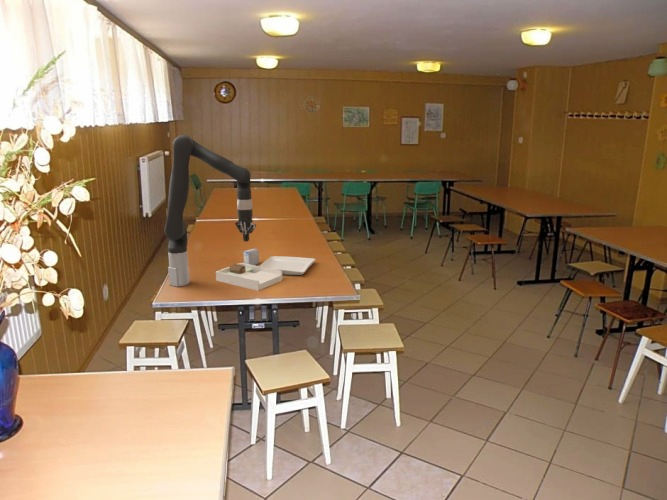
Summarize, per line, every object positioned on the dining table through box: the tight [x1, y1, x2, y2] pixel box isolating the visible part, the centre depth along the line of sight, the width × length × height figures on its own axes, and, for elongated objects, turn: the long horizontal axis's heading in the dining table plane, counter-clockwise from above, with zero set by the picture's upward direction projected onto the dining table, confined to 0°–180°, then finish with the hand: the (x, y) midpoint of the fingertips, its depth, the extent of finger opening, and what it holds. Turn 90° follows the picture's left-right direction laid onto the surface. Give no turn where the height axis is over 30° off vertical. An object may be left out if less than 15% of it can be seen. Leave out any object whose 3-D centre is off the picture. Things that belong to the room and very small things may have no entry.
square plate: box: [259, 255, 317, 276], centre depth 291 cm, size 27×27×4 cm
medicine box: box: [242, 248, 260, 266], centre depth 298 cm, size 8×4×9 cm, turn 141°
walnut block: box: [229, 263, 246, 274], centre depth 276 cm, size 4×7×4 cm, turn 56°
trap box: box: [215, 262, 284, 292], centre depth 271 cm, size 19×29×5 cm, turn 56°
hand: (246, 241), depth 267 cm, fingers closed
